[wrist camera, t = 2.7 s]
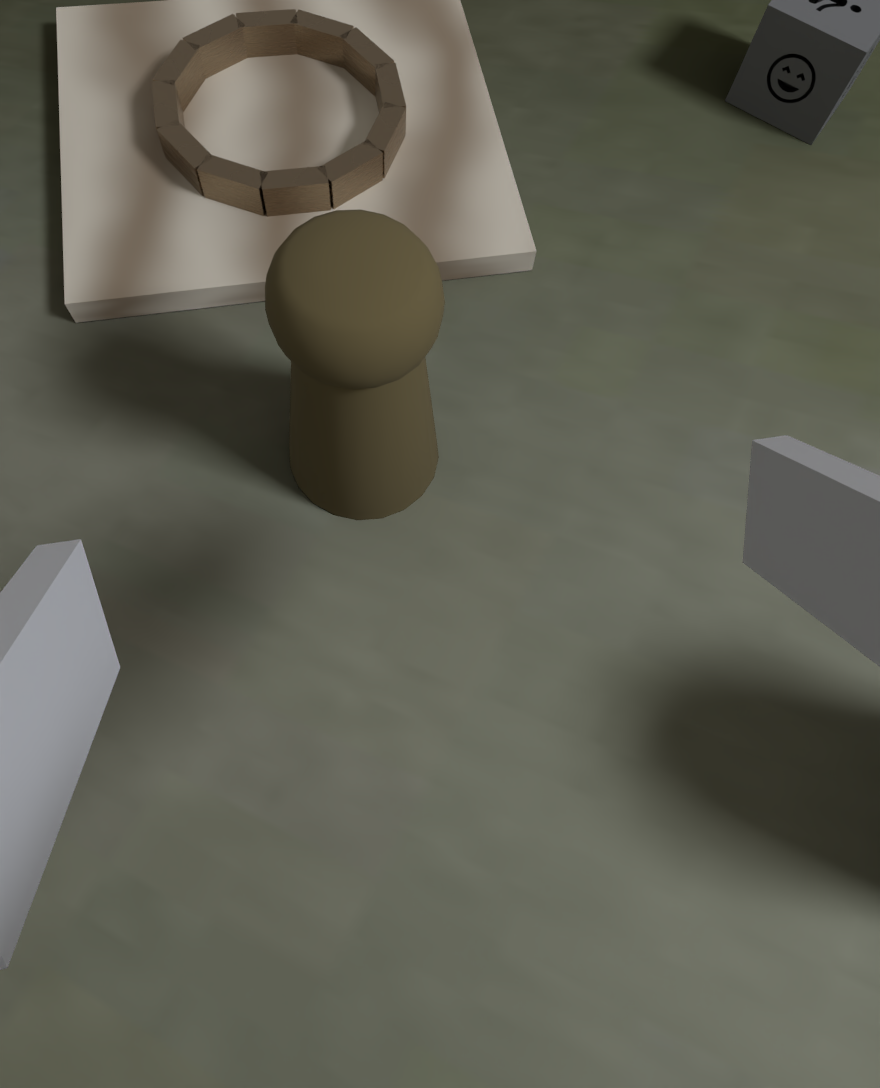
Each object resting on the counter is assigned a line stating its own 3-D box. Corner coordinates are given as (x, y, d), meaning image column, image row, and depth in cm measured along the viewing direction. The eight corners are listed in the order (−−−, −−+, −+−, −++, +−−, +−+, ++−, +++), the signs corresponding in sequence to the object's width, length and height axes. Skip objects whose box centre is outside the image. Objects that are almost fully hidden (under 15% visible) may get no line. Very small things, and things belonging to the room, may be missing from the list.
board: (75, 322, 32) (64, 304, 31) (65, 31, 39) (56, 7, 37) (531, 270, 35) (536, 251, 34) (452, 5, 41) (454, -18, 40)
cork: (257, 458, 31) (191, 264, 20) (356, 362, 32) (343, 141, 22) (372, 549, 29) (364, 392, 19) (468, 445, 31) (507, 251, 21)
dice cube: (764, 51, 42) (811, -49, 37) (847, 92, 41) (906, -5, 36) (724, 102, 40) (768, 4, 35) (810, 146, 39) (866, 52, 35)
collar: (171, 226, 33) (162, 199, 32) (155, 50, 37) (146, 18, 35) (422, 201, 34) (423, 173, 33) (381, 34, 38) (380, 3, 37)
